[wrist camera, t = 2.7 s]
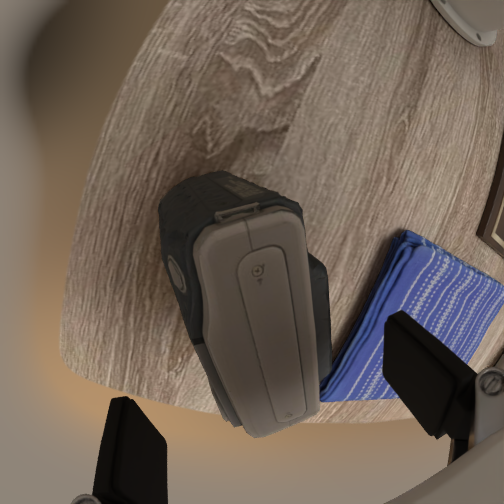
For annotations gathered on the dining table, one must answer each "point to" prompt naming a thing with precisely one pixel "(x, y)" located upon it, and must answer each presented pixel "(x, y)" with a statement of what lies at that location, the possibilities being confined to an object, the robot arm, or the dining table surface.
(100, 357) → the dining table surface
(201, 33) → the dining table surface
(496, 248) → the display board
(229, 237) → the camera
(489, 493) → the robot arm
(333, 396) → the dish towel
